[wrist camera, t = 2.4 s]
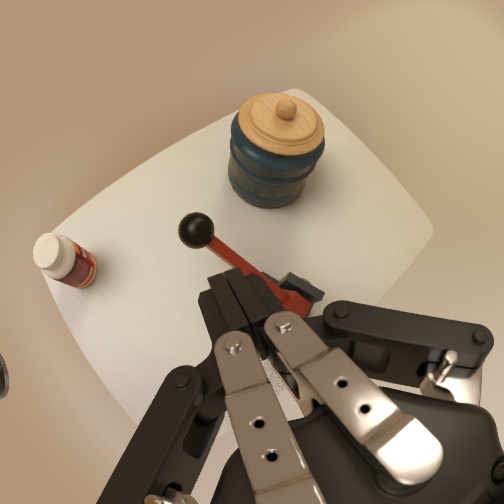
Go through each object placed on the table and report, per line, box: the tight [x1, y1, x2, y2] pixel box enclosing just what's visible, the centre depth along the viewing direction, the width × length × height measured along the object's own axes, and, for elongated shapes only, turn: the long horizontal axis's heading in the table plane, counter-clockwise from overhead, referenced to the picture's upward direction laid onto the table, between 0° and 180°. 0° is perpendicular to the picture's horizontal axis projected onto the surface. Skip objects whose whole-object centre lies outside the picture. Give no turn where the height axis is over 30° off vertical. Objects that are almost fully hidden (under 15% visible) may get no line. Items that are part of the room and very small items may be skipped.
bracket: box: [261, 272, 325, 318], centre depth 33 cm, size 9×8×13 cm
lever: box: [178, 212, 311, 318], centre depth 26 cm, size 16×3×3 cm, turn 59°
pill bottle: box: [33, 233, 96, 288], centre depth 33 cm, size 6×6×11 cm
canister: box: [228, 93, 325, 208], centre depth 37 cm, size 13×13×18 cm
